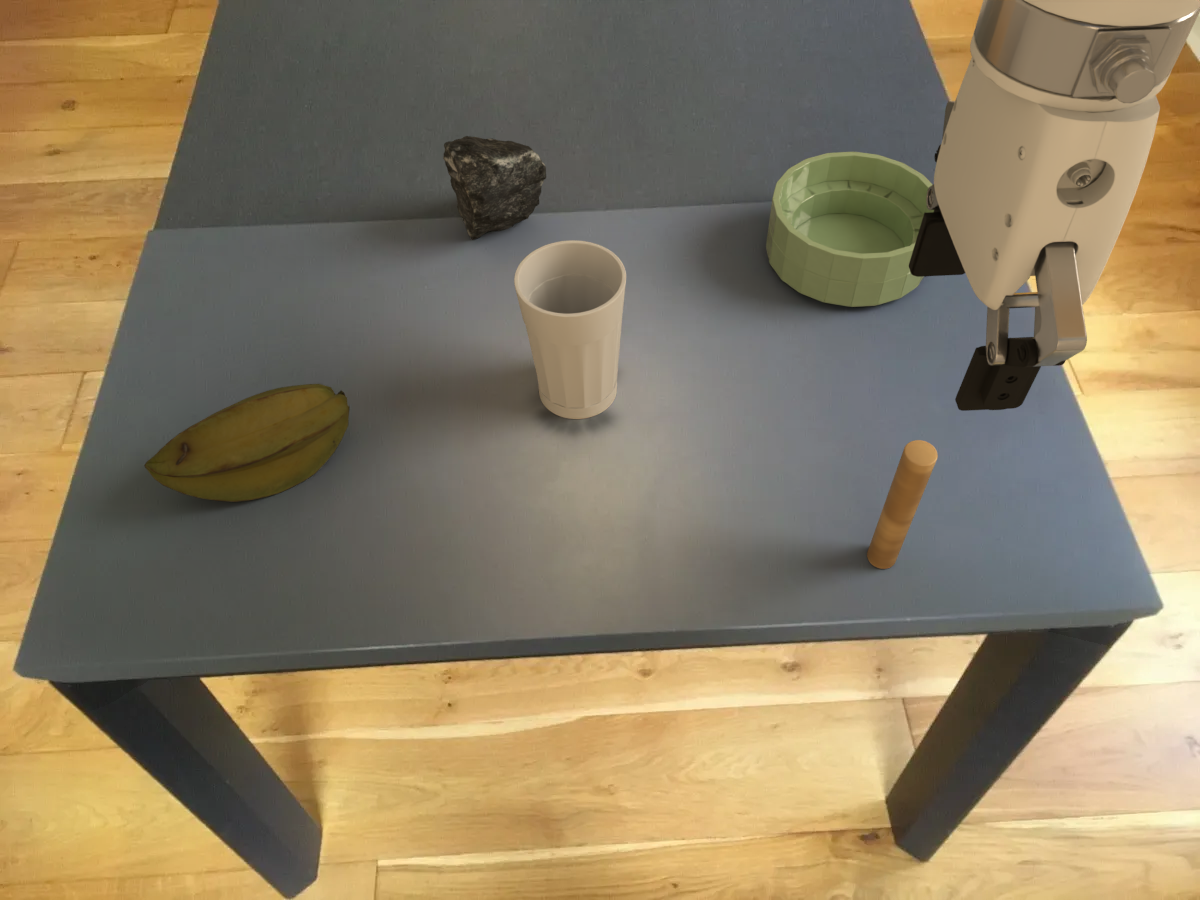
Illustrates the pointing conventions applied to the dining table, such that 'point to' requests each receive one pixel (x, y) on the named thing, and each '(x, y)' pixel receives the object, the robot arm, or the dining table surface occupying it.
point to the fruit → (255, 445)
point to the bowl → (847, 227)
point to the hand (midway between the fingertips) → (960, 334)
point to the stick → (901, 502)
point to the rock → (493, 182)
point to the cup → (573, 324)
